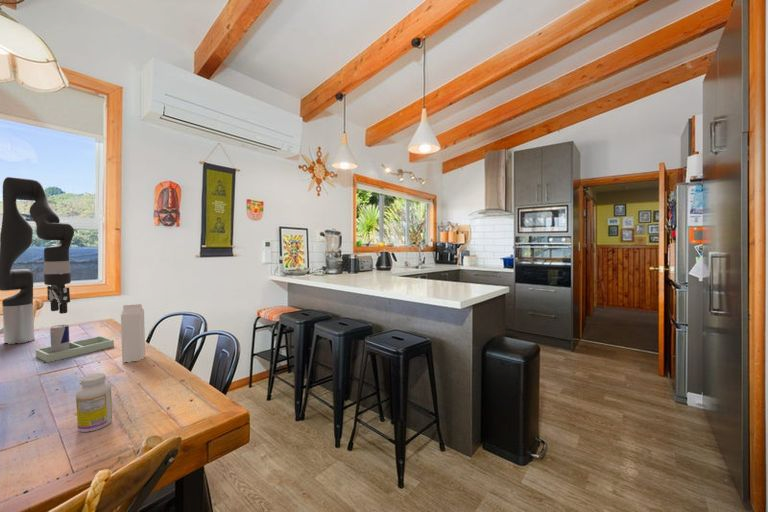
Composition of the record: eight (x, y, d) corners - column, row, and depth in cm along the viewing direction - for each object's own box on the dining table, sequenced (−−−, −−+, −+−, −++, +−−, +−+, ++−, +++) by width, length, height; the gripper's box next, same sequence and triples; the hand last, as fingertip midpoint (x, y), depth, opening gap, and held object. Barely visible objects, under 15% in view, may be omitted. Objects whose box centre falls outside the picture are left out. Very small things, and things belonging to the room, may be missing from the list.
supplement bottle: (92, 418, 85) (90, 371, 85) (118, 418, 86) (117, 371, 85) (69, 434, 79) (67, 382, 78) (98, 432, 79) (96, 382, 79)
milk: (141, 361, 126) (139, 305, 124) (121, 363, 123) (120, 306, 122) (145, 356, 131) (144, 302, 130) (127, 357, 129) (125, 303, 127)
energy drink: (73, 353, 133) (72, 324, 133) (59, 357, 128) (58, 328, 127) (62, 352, 134) (60, 324, 133) (47, 357, 128) (46, 327, 128)
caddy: (36, 356, 129) (35, 349, 129) (101, 342, 147) (100, 335, 147) (47, 362, 123) (47, 354, 123) (113, 346, 142) (113, 339, 142)
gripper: (37, 272, 129) (39, 312, 130) (51, 274, 123) (53, 316, 123) (62, 270, 136) (64, 308, 137) (77, 272, 129) (78, 312, 130)
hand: (59, 312), depth 130 cm, fingers open, 8 cm apart
